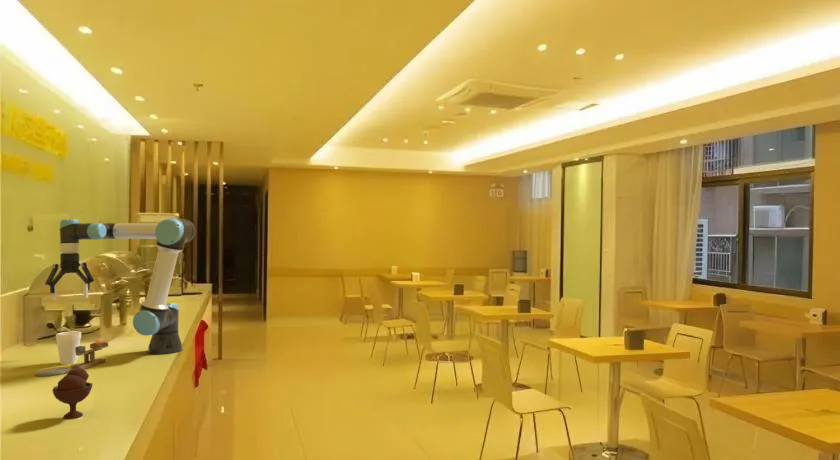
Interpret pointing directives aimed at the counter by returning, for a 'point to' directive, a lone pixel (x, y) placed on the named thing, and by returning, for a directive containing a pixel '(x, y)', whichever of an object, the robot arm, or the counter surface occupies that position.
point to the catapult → (93, 347)
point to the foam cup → (68, 346)
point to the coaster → (52, 371)
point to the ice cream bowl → (73, 390)
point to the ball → (99, 341)
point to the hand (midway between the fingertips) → (70, 299)
